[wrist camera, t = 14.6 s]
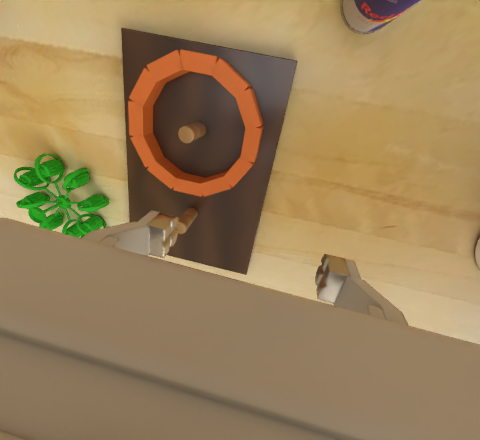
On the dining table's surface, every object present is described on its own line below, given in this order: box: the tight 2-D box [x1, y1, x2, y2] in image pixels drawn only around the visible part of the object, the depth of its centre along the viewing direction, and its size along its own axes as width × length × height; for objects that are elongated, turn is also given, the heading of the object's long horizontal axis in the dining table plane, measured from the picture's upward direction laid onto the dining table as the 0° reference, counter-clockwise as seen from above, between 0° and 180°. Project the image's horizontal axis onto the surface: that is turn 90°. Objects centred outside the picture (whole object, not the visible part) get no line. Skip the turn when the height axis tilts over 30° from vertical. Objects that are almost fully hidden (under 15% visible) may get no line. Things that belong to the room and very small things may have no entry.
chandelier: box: [14, 154, 109, 238], centre depth 38 cm, size 15×15×7 cm
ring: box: [128, 49, 263, 197], centre depth 31 cm, size 16×16×3 cm
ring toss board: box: [121, 28, 297, 275], centre depth 33 cm, size 20×30×6 cm, turn 170°
